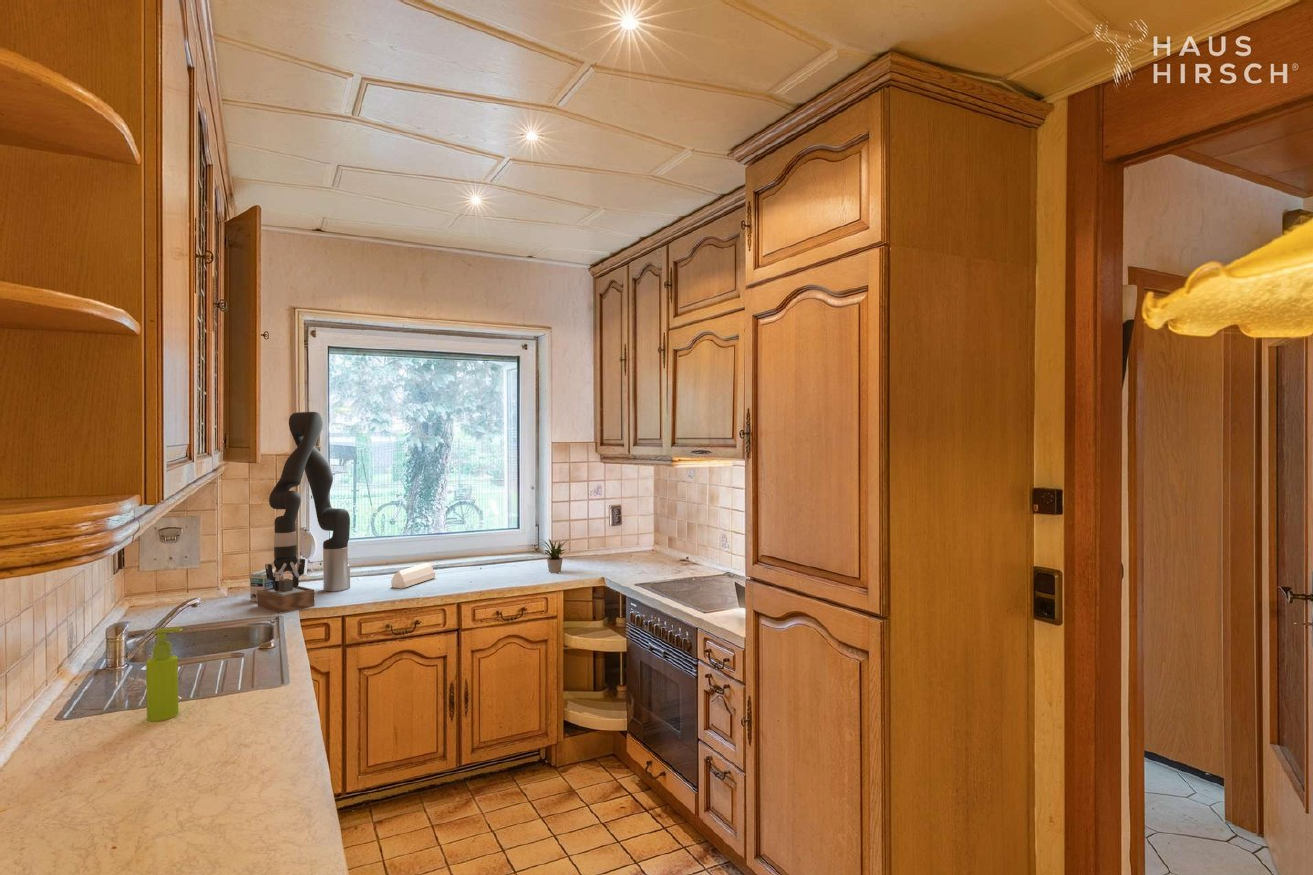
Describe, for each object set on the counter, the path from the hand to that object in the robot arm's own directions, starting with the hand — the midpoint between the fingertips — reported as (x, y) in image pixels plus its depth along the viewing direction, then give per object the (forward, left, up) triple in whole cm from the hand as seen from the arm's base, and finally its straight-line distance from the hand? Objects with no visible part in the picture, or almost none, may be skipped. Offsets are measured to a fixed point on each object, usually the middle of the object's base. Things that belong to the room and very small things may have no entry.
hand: (285, 588), depth 262 cm
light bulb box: (-2, -18, -7) cm, 19 cm away
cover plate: (0, 0, -1) cm, 1 cm away
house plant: (-101, +39, -7) cm, 108 cm away
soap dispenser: (+68, +80, -7) cm, 105 cm away
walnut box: (0, 0, -6) cm, 6 cm away
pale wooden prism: (-52, +5, -7) cm, 53 cm away
